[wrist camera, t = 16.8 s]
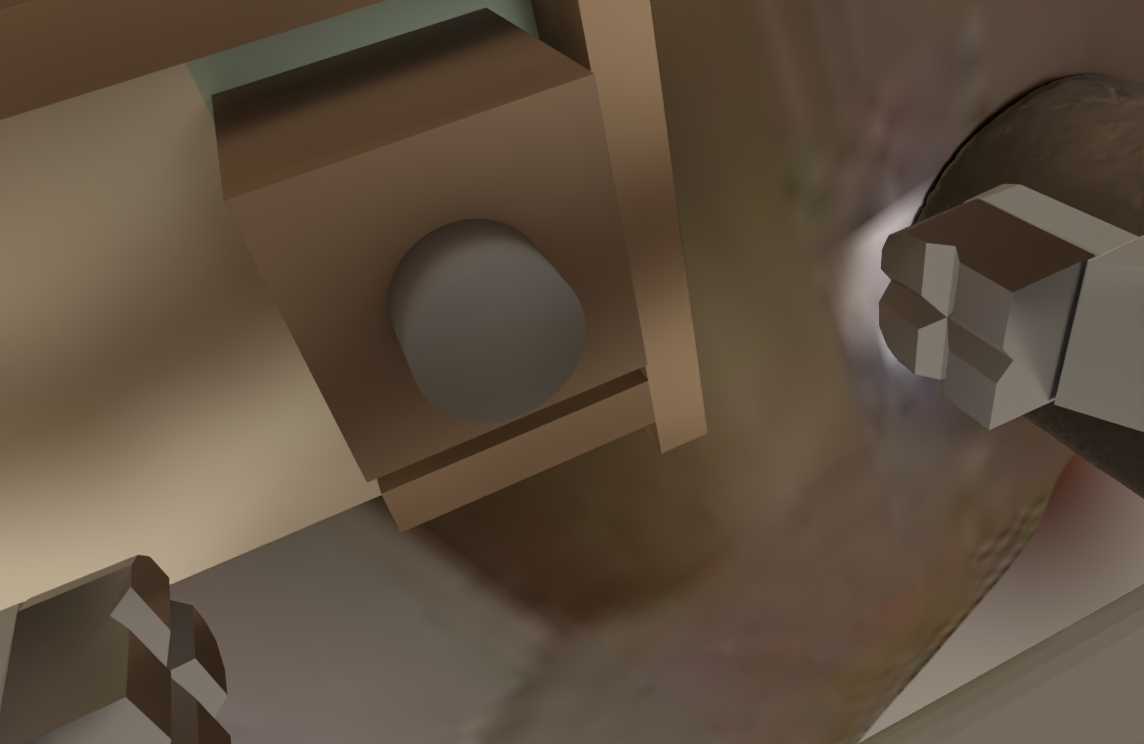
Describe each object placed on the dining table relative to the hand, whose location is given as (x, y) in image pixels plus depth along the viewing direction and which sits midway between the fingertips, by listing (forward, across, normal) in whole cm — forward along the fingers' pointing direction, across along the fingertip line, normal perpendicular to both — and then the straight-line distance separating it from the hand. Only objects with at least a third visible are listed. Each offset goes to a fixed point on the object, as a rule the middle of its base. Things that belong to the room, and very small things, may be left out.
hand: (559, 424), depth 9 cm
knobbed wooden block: (+9, 0, +1) cm, 9 cm away
